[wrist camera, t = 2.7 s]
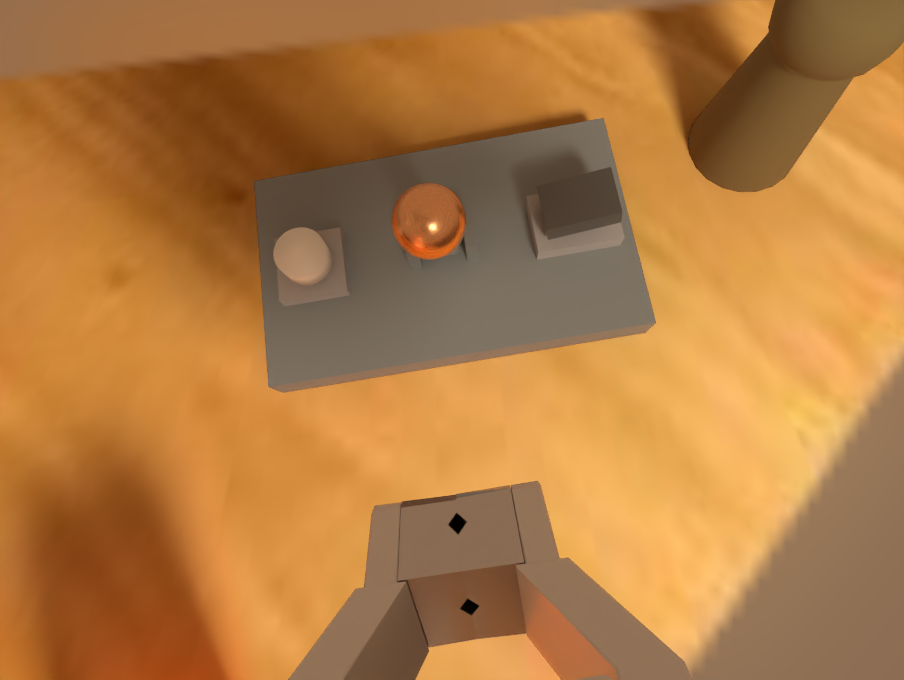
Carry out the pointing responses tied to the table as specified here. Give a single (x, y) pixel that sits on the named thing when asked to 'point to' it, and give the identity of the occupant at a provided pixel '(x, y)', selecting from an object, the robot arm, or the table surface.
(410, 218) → the copper ball joystick
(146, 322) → the table surface
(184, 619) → the table surface
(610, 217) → the rocker switch
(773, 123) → the brown pawn
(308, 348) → the control panel
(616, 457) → the table surface
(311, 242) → the push button
